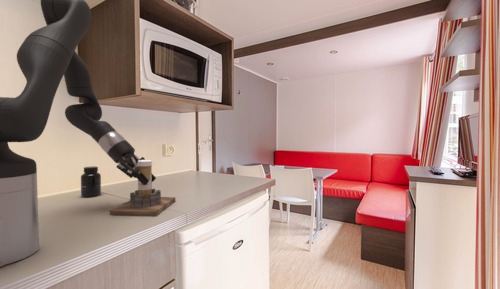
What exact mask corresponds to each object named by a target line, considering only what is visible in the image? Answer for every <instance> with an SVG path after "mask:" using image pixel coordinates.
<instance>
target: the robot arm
mask: <svg viewBox="0 0 500 289" xmlns="http://www.w3.org/2000/svg"><path fill="white" fill-rule="evenodd" d="M40 7H41V8H40V9H41V11H42V12H41V13H42V16H43V18H44V21H45V24H46V25H45V26H42V27H41V28H38V29H36V30H33V31H32V32H30V33H29V34H28V35H27V36H26V37H25V39H24V41H23V42H22V43H21V45H20V46H19V48H18V49H17V51H16V52H17V53H16V62H17V64H18V67H19V68H20V71H21V72H22V75H23V76H24V78H25V80H26V84H25V86H24V89H23V90H22V91H21V93H20V94H19V95H17V96H16V97H4V96H0V268H1V267H3V266H6V265H9V264H12V263H15V262H18V261H21V260H24V259H26V258H28V257H30V256H32V255H33V254H35V253H36V252H38V251H39V250H40V229H39V228H40V227H39V224H40V223H39V200H38V197H39V196H38V194H39V193H38V172H37V171H38V170H37V169H38V167H37V162H36V161H35V160H34V159H33V158H30V157H26V156H23V155H21V154H18V153H16V152H14V151H13V150H12V149H11V148H10V146H9V143H26V142H27V143H28V142H33V141H35V140H37V139H39V138H40V136H41V135H42V134H43V132H44V131H45V129H46V127H47V124H48V120H49V117H50V115H51V114H50V112H51V109H52V106H53V103H54V101H55V100H54V99H55V97H56V94H57V91H58V88H59V86H60V84H61V82H62V79H63V78H64V82H65V86H66V87H65V88H66V91H67V94H68V95H69V96H71V97H74V98H80V99H81V100H82V103H77V104H76V103H74V104H70V105H68V106H67V107H66V108H65V110H64V115H65V118H66V120H67V121H68V123H70V124H71V125H72V126H74V127H75V128H77V129H79V131H82V132H83V133H85V134H86V135H88V136H90V137H91V138H92V139H93V140H94V141H95V142H96V143H97V144H98V145H99V147H100V148H101V149H102V150H103V151H104V152H105V153H106V154H107V156H108V157H109V158H110V159H111V160H112V161H113V162H114V163H116V166H115V167H116V168H117V169H119V170H120V171H121V172H122V173H123V174H125V175H126V176H127V177H129V178H134V179H137V181H138V180H139V181H140V182H141V183H142V184H143V185H146V184H147V183H148V182H149V180H148V179H147V178H146V177H145V176H144V175H143V174H142V173H141V171H140V170H139V166H138V161H139V160H146V159H145V157H143V156H141V157H140V158H139V157H138V156H137V155H135V152H136V148H134V147H133V146H132V145H131V144H130V142H129V141H127V139H126V138H125V137H123V135H122V134H120V133H119V132H118V131H117V130H116V129H115V128H114V127H113V126H112V125H111V124H110V123H109V122H108V121H105V120H101V119H102V116H103V110H102V107H101V105H100V103H99V101H98V98H97V96H96V95H95V92H94V89H93V83H92V78H91V73H90V70H89V68H88V66H87V64H86V63H85V62H84V61H83V59H82V58H81V56H80V55H79V54H78V53H77V52H76V49H77V47H78V45H79V43H81V40H82V39H83V38H84V36H85V35H86V33H87V32H88V30H89V29H90V27H91V24H92V10H91V8H90V6H89V4H88V2H86V0H40ZM156 179H157V177H156V176H155V175H154V174H153V173H152V183H153V182H154V181H155V180H156Z"/></svg>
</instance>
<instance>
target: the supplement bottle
mask: <svg viewBox="0 0 500 289" xmlns="http://www.w3.org/2000/svg"><path fill="white" fill-rule="evenodd" d="M98 171H99V167H98V166H94V165H93V166H85V167H83V173H82V175H80V195H81V198H95V197H98V195H99V196H100V195H101V194H102V177H101V176H102V175H101V173H99V172H98Z"/></svg>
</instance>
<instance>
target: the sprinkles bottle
mask: <svg viewBox="0 0 500 289" xmlns="http://www.w3.org/2000/svg"><path fill="white" fill-rule="evenodd" d="M138 166H139V170H140V171H141V173H142V174H143V175H144V176H145V177H146V178H147V179H148V180H149V182H148V183H147V184H146V185H143V184H142V183H141V182H140V181H139V180H138V179H137V190H138V195H144V199H148V194H151V193H152V189H153V186H152V184H153V182H152V174H153V172H152V166H153V160H152V159H145V160H139V161H138Z"/></svg>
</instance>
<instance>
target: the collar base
mask: <svg viewBox="0 0 500 289" xmlns="http://www.w3.org/2000/svg"><path fill="white" fill-rule="evenodd" d="M161 194H162V191H161V189H156V188H152V193H151V194H148V199H144V195H138V189H137V190H134V192H130V193H129V197H130V198H129V200H128V201H126V202H123V203H122V204H120V205H118V206H115V207H113V208H112V209H110V210H109V216H130V217H131V216H132V217H134V216H135V217H157V216H159V215H160V214H161V213H162V212H163V211H165V210H166V209H167V208H169V207H170V206H172V204H174V203H175V202H176V197H175V196H161Z"/></svg>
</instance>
